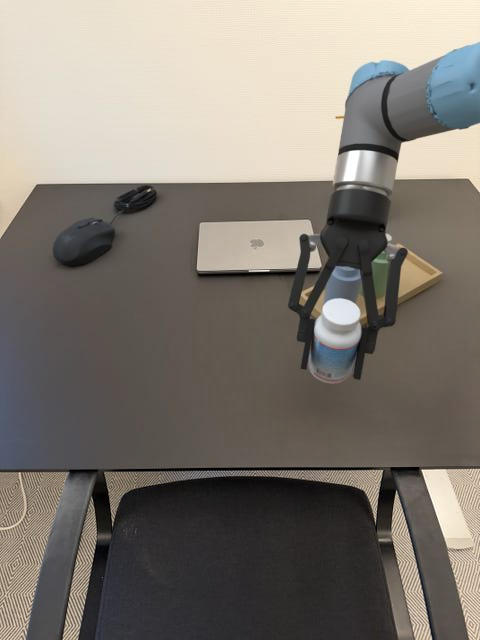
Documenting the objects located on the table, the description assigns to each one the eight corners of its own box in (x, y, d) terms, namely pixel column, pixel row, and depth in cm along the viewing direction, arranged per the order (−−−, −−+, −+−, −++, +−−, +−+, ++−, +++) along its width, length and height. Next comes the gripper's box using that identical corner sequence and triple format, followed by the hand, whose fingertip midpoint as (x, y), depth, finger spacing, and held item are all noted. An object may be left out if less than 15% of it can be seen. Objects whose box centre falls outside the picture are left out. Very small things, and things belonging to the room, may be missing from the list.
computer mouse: (46, 262, 99) (38, 241, 95) (134, 188, 119) (130, 168, 115) (82, 275, 96) (75, 254, 92) (166, 197, 116) (163, 177, 112)
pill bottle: (360, 371, 65) (377, 315, 57) (327, 392, 62) (340, 336, 54) (331, 344, 68) (343, 287, 60) (298, 363, 66) (306, 306, 58)
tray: (396, 251, 102) (398, 243, 100) (439, 281, 95) (442, 272, 94) (297, 301, 91) (298, 293, 89) (338, 339, 85) (340, 330, 83)
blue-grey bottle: (358, 300, 90) (372, 249, 81) (348, 321, 87) (361, 269, 77) (329, 291, 92) (339, 239, 83) (318, 310, 88) (327, 258, 79)
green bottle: (389, 284, 93) (405, 232, 84) (381, 302, 90) (397, 251, 81) (360, 274, 95) (373, 223, 86) (351, 292, 92) (363, 241, 83)
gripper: (432, 210, 62) (400, 382, 63) (288, 193, 65) (261, 357, 66) (447, 196, 54) (411, 392, 55) (284, 177, 57) (253, 362, 58)
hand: (329, 372), depth 61 cm, fingers closed on pill bottle, 6 cm apart
